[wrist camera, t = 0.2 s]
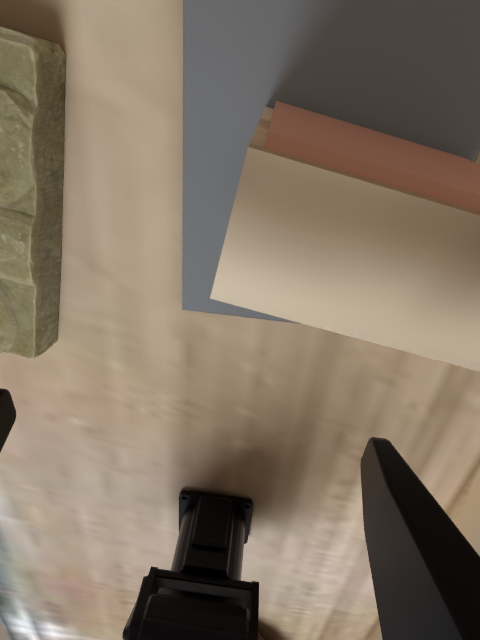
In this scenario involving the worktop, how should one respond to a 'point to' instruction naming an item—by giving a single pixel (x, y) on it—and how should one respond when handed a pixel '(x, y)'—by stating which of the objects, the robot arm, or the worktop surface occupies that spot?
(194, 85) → the rubber mat
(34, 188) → the decorative tile
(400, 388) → the worktop surface
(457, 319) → the maple block
